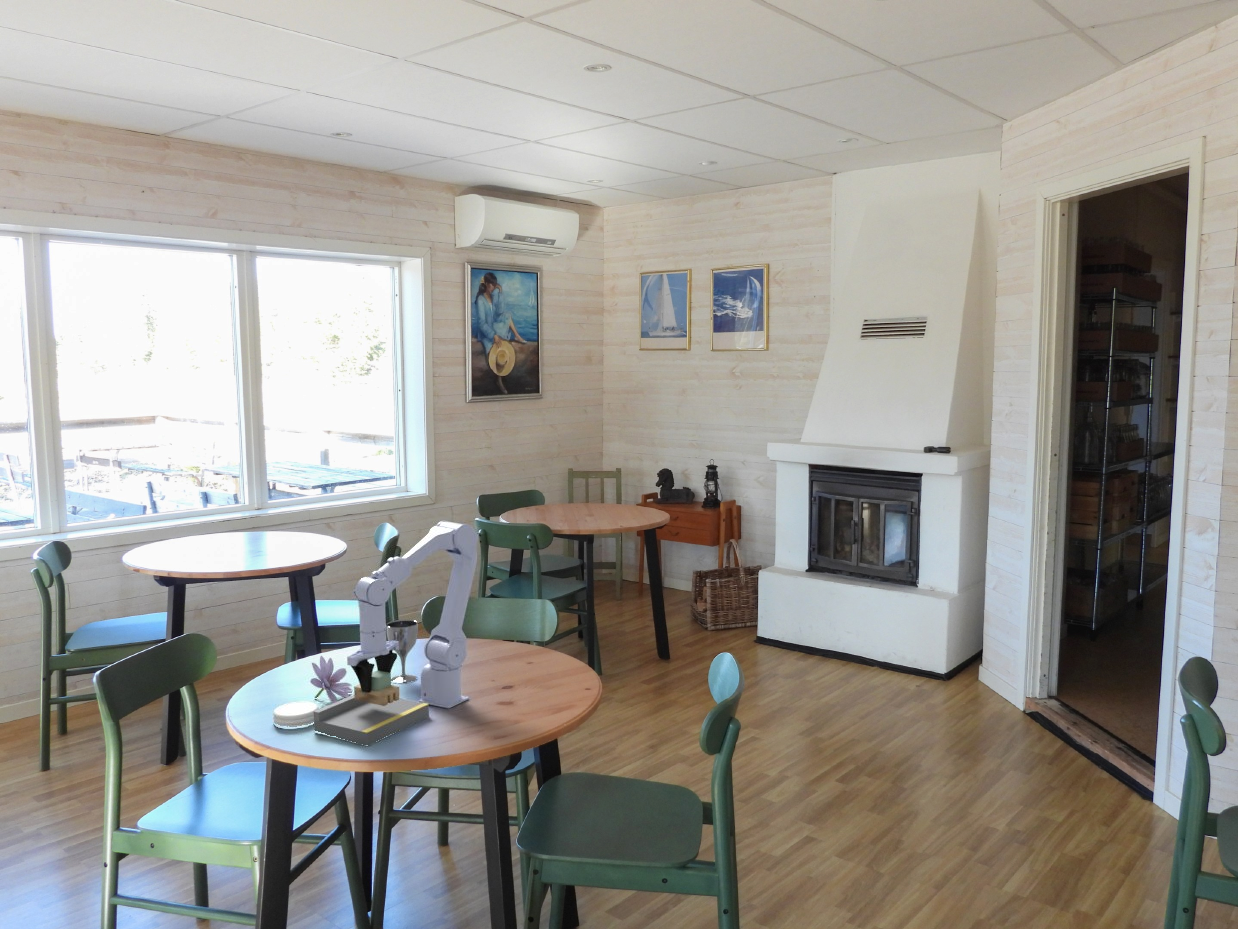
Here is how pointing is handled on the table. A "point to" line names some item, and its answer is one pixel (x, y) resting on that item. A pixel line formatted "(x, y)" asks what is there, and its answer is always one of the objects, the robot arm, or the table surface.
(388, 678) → the green block
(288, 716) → the white round disc
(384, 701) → the pallet
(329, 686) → the water lily
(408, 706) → the dock
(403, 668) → the silver goblet
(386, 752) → the table surface
